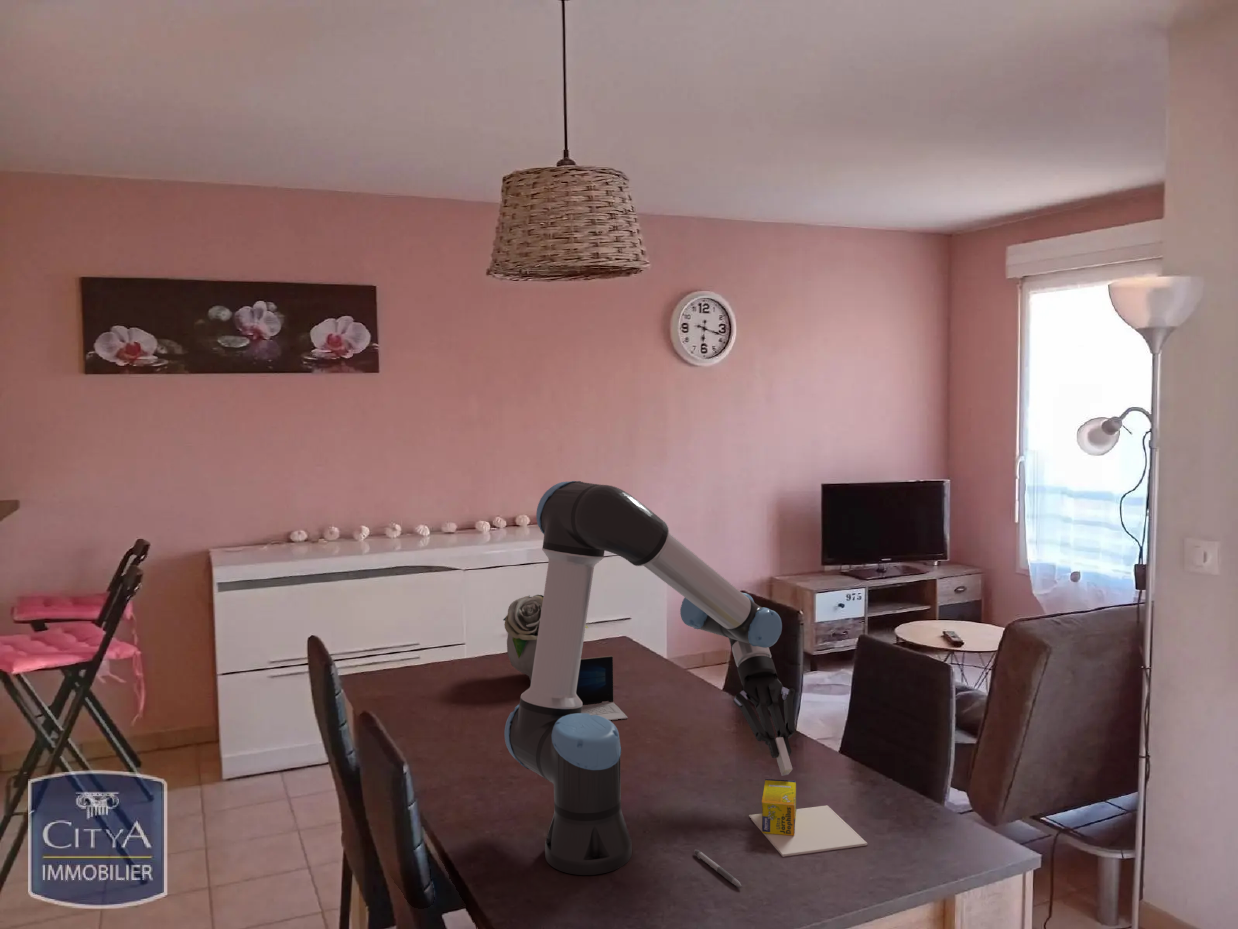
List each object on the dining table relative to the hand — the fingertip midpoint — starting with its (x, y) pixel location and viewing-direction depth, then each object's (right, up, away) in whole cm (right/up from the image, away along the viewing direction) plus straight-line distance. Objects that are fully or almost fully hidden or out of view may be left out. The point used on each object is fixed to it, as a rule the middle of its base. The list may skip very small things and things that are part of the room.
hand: (786, 772), depth 183 cm
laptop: (-40, -4, +57) cm, 70 cm away
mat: (+2, -8, -8) cm, 12 cm away
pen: (-16, -10, -22) cm, 29 cm away
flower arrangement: (-53, -2, +87) cm, 101 cm away
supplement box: (-1, -4, 0) cm, 4 cm away
